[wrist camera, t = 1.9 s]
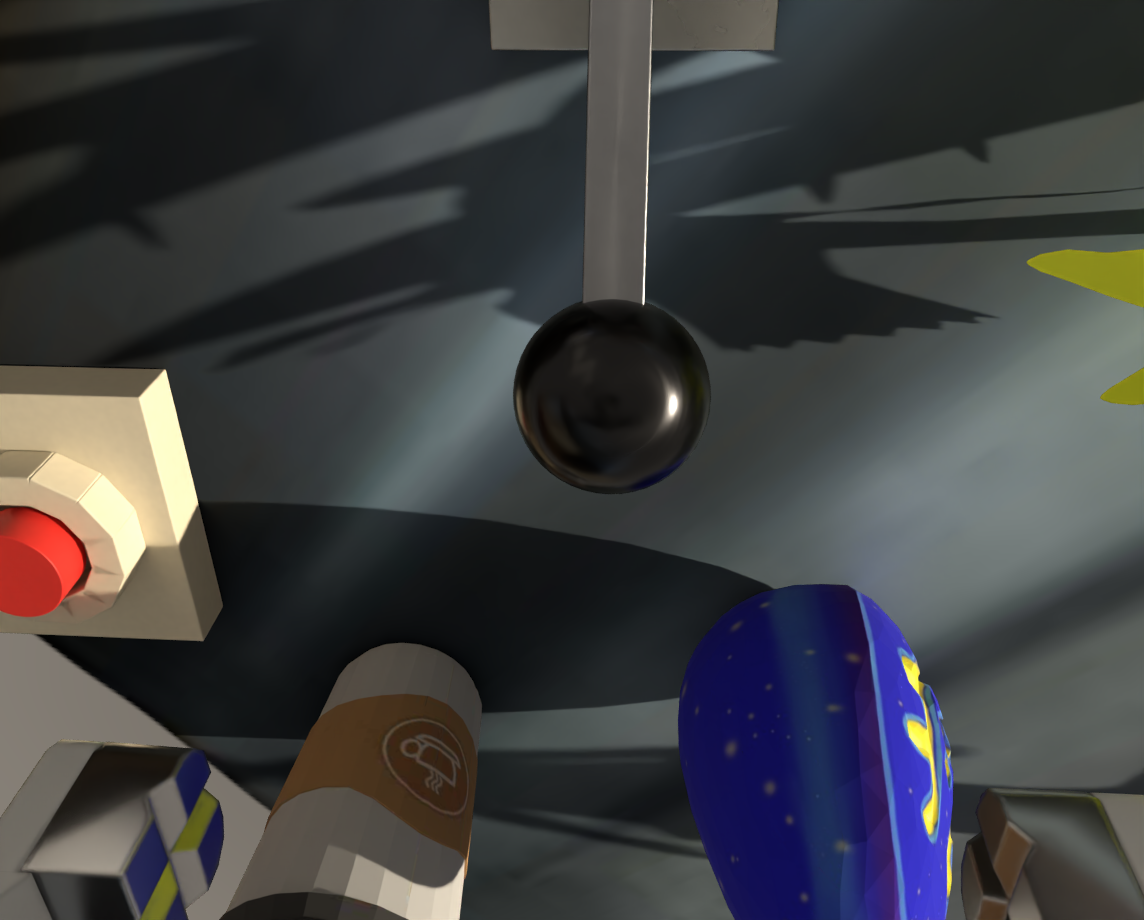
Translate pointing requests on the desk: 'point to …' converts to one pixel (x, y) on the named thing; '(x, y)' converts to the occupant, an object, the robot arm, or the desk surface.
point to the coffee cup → (375, 799)
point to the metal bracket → (680, 23)
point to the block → (109, 499)
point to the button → (36, 561)
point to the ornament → (817, 761)
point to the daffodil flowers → (1113, 275)
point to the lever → (614, 301)
